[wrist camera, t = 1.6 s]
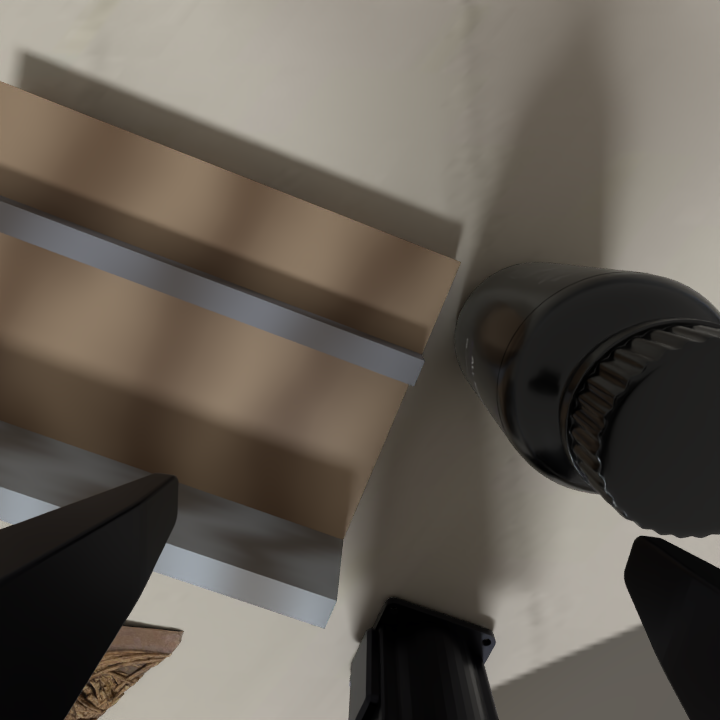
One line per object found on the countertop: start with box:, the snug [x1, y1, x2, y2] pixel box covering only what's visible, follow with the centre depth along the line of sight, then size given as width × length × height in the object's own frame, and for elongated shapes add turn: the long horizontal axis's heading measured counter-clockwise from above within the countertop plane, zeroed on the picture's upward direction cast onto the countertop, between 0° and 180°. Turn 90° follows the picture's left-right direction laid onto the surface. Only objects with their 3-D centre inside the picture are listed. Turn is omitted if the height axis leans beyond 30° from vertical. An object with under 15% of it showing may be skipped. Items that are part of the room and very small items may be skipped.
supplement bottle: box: [455, 262, 720, 538], centre depth 15 cm, size 7×7×12 cm
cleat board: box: [0, 81, 461, 629], centre depth 19 cm, size 20×16×6 cm
